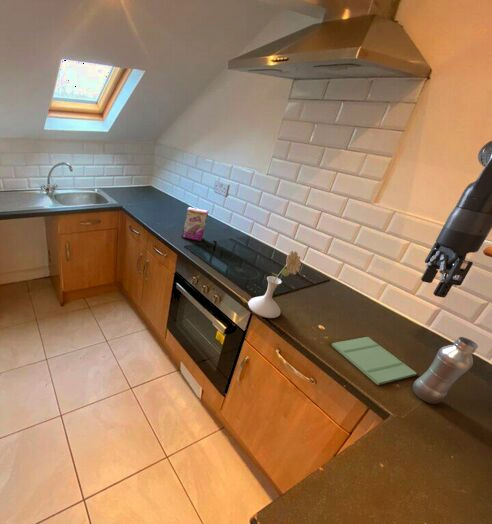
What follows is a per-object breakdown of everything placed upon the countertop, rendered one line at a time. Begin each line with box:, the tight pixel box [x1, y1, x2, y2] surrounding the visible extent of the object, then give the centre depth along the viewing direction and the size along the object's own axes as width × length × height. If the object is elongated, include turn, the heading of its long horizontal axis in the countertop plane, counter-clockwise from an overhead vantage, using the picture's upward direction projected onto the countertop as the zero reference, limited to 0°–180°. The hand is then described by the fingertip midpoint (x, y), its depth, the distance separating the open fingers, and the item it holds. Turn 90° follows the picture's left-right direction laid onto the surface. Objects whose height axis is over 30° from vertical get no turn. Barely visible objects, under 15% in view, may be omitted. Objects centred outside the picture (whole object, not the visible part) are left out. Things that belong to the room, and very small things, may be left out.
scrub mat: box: [331, 336, 418, 386], centre depth 93 cm, size 16×16×1 cm
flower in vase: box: [247, 250, 302, 319], centre depth 105 cm, size 13×11×25 cm
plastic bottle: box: [412, 336, 479, 405], centre depth 78 cm, size 6×7×20 cm
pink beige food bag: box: [181, 206, 210, 242], centre depth 162 cm, size 11×5×16 cm, turn 74°
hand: (431, 288), depth 76 cm, fingers open, 8 cm apart
